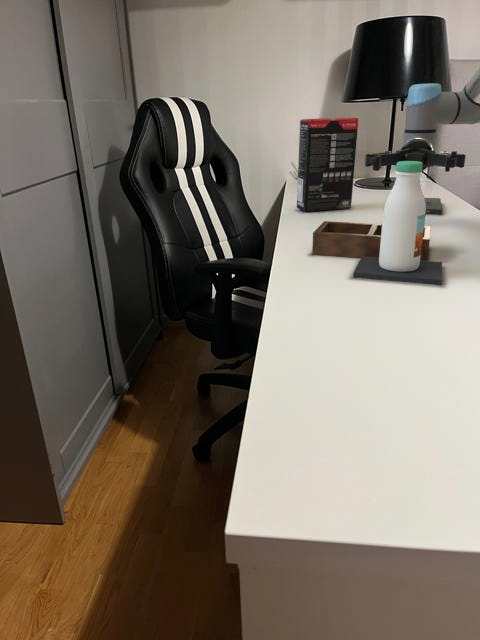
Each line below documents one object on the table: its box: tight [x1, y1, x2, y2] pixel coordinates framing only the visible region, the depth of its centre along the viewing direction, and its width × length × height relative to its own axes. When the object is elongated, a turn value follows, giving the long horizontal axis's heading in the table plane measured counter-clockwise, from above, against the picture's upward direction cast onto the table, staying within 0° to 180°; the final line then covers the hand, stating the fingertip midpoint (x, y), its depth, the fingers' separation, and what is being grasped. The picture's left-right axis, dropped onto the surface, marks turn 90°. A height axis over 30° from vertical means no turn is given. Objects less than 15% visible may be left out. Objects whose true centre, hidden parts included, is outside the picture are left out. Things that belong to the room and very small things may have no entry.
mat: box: [352, 256, 443, 286], centre depth 99 cm, size 16×12×1 cm
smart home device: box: [424, 197, 443, 215], centre depth 158 cm, size 8×2×20 cm
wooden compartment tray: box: [311, 220, 432, 261], centre depth 113 cm, size 24×12×5 cm, turn 70°
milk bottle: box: [379, 161, 426, 272], centre depth 95 cm, size 8×8×20 cm
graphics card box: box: [296, 117, 359, 212], centre depth 155 cm, size 17×7×27 cm, turn 109°
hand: (411, 164), depth 100 cm, fingers open, 13 cm apart
